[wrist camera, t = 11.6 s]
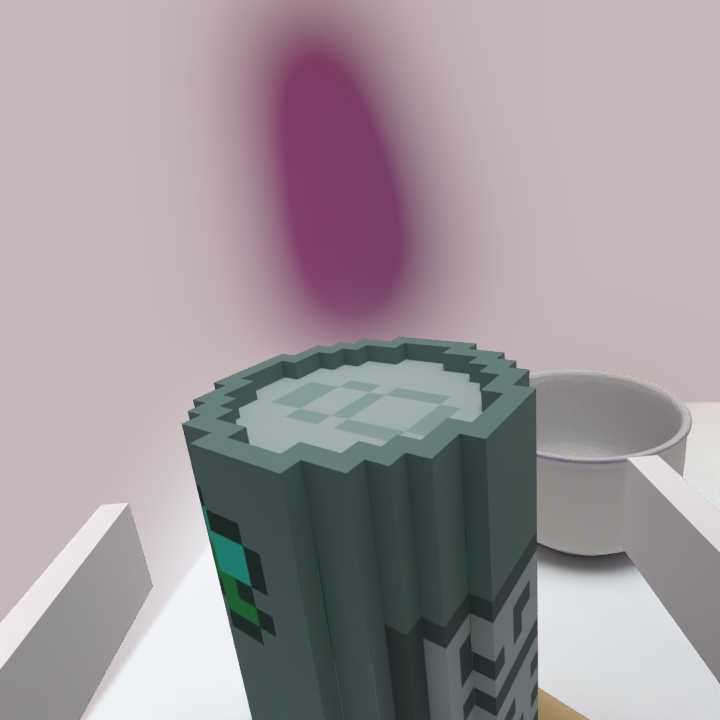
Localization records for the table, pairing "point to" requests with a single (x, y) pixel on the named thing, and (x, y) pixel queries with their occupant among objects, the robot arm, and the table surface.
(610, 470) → the teacup
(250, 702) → the can
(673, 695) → the table surface
